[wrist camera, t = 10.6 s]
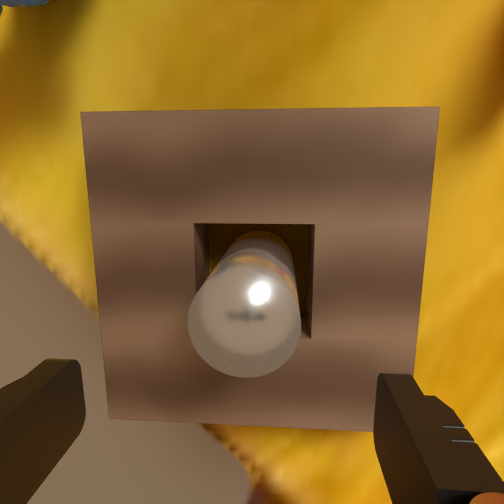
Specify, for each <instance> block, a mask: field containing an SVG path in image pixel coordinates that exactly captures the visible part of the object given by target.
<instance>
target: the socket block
mask: <svg viewBox="0 0 504 504" xmlns="http://www.w3.org/2000/svg"><path fill="white" fill-rule="evenodd" d="M439 110H440V107H375V108H308V109H241V110H174V111H107V112H80V113H81V123H82V134H83V145H84V155H85V166H86V177H87V188H88V198H89V209H90V220H91V230H92V241H93V252H94V263H95V273H96V284H97V295H98V305H99V316H100V327H101V337H102V348H103V358H104V370H105V380H106V391H107V402H108V412H109V418H110V419H129V420H149V421H150V420H151V421H168V422H188V423H208V424H227V425H247V426H266V427H286V428H306V429H325V430H345V431H365V432H373V426H374V413H375V400H376V388H377V379H378V375H379V374H380V373H394V374H410V375H412V377H413V375H414V364H415V354H416V344H417V334H418V324H419V313H420V303H421V293H422V283H423V273H424V263H425V252H426V242H427V232H428V222H429V212H430V202H431V191H432V181H433V171H434V161H435V151H436V141H437V130H438V120H439ZM208 223H246V224H309V254H308V287H307V313H300V318H301V334H300V338H299V342H298V345H297V347H296V349H295V351H294V353H293V354H292V355H291V357H290V358H289V359H288V360H287V361H286V362H285V363H284V364H283V365H282V366H281V367H279V368H278V369H276V370H274V371H273V372H270V373H268V374H266V375H262V376H258V377H249V378H243V377H235V376H231V375H228V374H225V373H222V372H220V371H218V370H216V369H215V368H213V367H211V366H210V365H209V364H208V363H206V362H205V361H204V360H203V359H202V358H201V357H200V355H199V354H198V353H197V351H196V350H195V348H194V346H193V344H192V342H191V339H190V336H189V332H188V313H189V309H190V305H191V303H192V301H193V299H194V297H195V295H196V294H197V292H198V291H199V289H200V288H201V287H202V285H203V284H204V282H205V281H206V279H207V278H208V277H209V239H208Z"/></svg>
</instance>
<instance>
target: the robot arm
mask: <svg viewBox="0 0 504 504" xmlns="http://www.w3.org/2000/svg"><path fill="white" fill-rule="evenodd" d="M85 412H86V409H85V400H84V391H83V383H82V374H81V367H80V364H79V362H78V361H77V360H72V359H46V360H44V361H43V362H42V363H40V364H39V365H38V366H37V367H35V368H34V369H33V370H32V371H31V372H29V373H28V374H27V375H25V376H24V377H22V378H20V379H18V380H16V381H14V382H12V383H10V384H8V385H6V386H4V387H2V388H1V389H0V504H27V502H28V501H29V500H30V498H31V497H32V496H33V494H34V493H35V492H36V490H37V489H38V488H39V487H40V485H41V484H42V483H43V481H44V480H45V479H46V477H47V476H48V474H49V473H50V472H51V471H52V470H53V468H54V467H55V466H56V464H57V463H58V461H59V460H60V459H61V458H62V456H63V455H64V454H65V453H66V451H67V450H68V449H69V447H70V446H71V445H72V443H73V442H74V441H75V439H76V438H77V437H78V435H79V434H80V432H81V430H82V427H83V425H84V421H85V415H86V413H85ZM373 434H374V444H375V450H376V454H377V457H378V460H379V463H380V466H381V469H382V473H383V476H384V479H385V482H386V485H387V488H388V491H389V494H390V497H391V500H392V503H393V504H504V482H503V481H502V479H501V478H500V476H499V475H498V473H497V472H496V471H495V469H494V468H493V466H492V465H491V463H490V462H489V461H488V459H487V458H486V456H485V455H484V453H483V452H482V451H481V449H480V448H479V446H478V445H477V444H476V443H474V439H473V438H472V436H471V435H470V433H469V432H468V430H467V429H465V428H464V425H463V423H462V422H461V420H460V419H459V418H458V416H457V415H456V413H455V412H454V410H453V409H451V408H450V407H449V406H447V405H446V404H445V403H443V402H442V401H441V400H440V399H438V398H437V397H436V396H427V395H424V394H423V393H422V391H421V389H420V388H419V386H418V385H417V383H416V381H415V380H414V378H413V377H412V375H410V374H394V373H380V374H379V375H378V379H377V388H376V400H375V413H374V426H373Z"/></svg>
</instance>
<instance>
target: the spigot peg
mask: <svg viewBox="0 0 504 504" xmlns="http://www.w3.org/2000/svg"><path fill="white" fill-rule="evenodd" d="M188 332H189V336H190V339H191V342H192V344H193V346H194V348H195V350H196V351H197V353H198V354H199V355H200V357H201V358H202V359H203V360H204V361H205V362H206V363H208V364H209V365H210V366H211V367H213V368H215V369H216V370H218V371H220V372H222V373H225V374H228V375H231V376H235V377H243V378H249V377H258V376H262V375H266V374H268V373H270V372H273V371H274V370H276V369H278V368H279V367H281V366H282V365H283V364H284V363H285V362H286V361H287V360H288V359H289V358H290V357H291V355H292V354H293V353H294V351H295V349H296V347H297V345H298V342H299V338H300V334H301V318H300V310H299V302H298V294H297V286H296V279H295V271H294V263H293V257H292V254H291V251H290V249H289V247H288V246H287V244H286V243H285V242H284V241H283V240H282V239H281V238H280V237H278V236H277V235H275V234H273V233H270V232H266V231H251V232H248V233H245V234H243V235H241V236H239V237H238V238H237V239H236V240H234V242H233V243H232V244H231V245H230V247H229V248H228V250H227V251H226V252H225V254H224V255H223V257H222V258H221V260H220V261H219V262H218V264H217V265H216V267H215V268H214V270H213V271H212V272H211V274H210V275H209V277H208V278H207V279H206V281H205V282H204V284H203V285H202V287H201V288H200V289H199V291H198V292H197V294H196V295H195V297H194V299H193V301H192V303H191V305H190V309H189V313H188Z"/></svg>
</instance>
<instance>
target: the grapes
mask: <svg viewBox="0 0 504 504" xmlns="http://www.w3.org/2000/svg"><path fill="white" fill-rule="evenodd" d="M48 1H49V0H0V16H1V14H2V11H3V7H2V5H4V6H10V7H18V6H26V7H36V6H42V5H45V4H47V2H48Z"/></svg>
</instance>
